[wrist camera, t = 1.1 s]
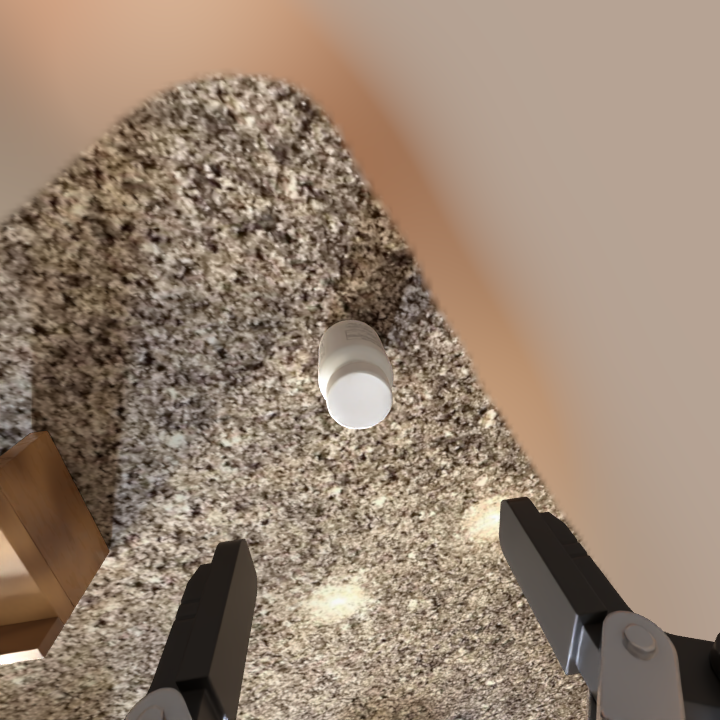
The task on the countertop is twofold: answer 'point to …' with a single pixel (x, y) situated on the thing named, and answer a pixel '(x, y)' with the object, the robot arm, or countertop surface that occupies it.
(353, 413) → the pill bottle
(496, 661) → the countertop surface
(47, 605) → the shelf
